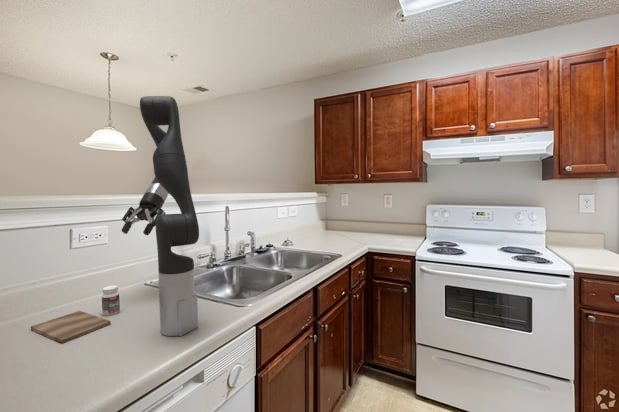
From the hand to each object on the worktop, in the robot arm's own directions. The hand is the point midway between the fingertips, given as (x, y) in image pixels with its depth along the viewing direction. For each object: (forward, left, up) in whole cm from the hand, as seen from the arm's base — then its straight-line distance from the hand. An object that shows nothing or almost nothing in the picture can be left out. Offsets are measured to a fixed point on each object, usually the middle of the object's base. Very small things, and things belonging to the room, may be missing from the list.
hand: (134, 233), depth 102 cm
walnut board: (-2, +21, -25) cm, 32 cm away
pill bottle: (-2, +10, -25) cm, 27 cm away
